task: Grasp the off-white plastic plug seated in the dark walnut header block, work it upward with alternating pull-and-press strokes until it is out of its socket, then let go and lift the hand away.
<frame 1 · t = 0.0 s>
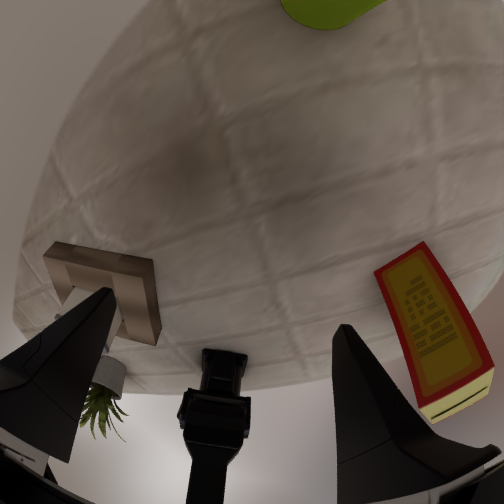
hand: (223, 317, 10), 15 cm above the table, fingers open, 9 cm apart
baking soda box: (410, 281, 28), on the table
house plant: (107, 359, 43), on the table
plug: (93, 312, 27), point 4 cm above the table, slide at 0.0 cm
soap dispenser: (319, 4, 13), on the table
header: (107, 287, 31), on the table
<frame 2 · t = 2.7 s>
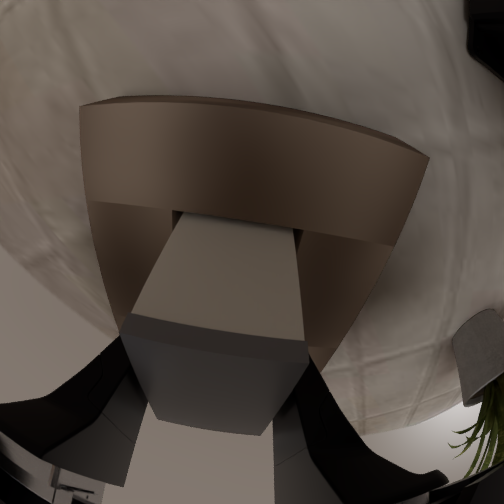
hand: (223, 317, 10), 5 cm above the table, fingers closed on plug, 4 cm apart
house plant: (462, 336, 18), on the table
plug: (224, 313, 10), point 4 cm above the table, slide at 0.0 cm, touching gripper
header: (236, 247, 14), on the table
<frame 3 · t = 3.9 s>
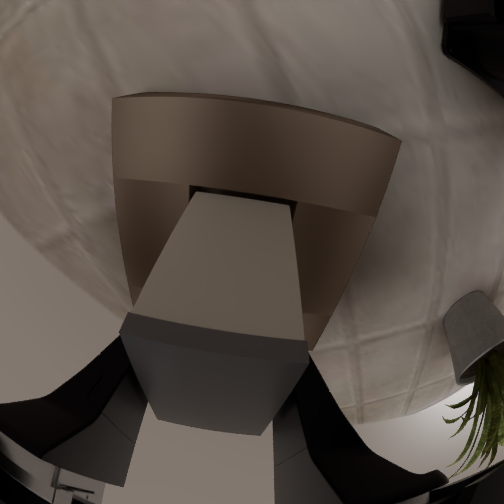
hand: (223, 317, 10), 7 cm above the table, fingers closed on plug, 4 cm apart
house plant: (453, 317, 20), on the table
plug: (224, 313, 10), point 7 cm above the table, slide at 2.3 cm, touching gripper
header: (240, 224, 15), on the table
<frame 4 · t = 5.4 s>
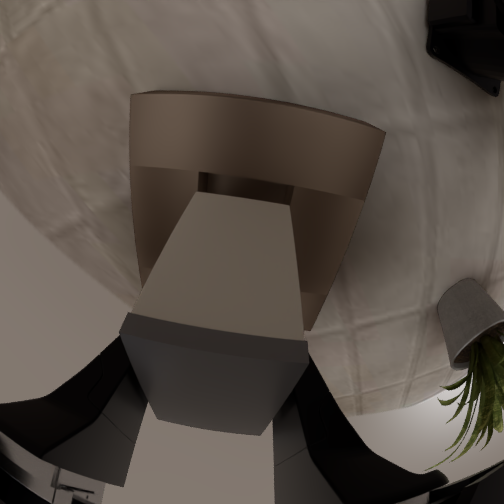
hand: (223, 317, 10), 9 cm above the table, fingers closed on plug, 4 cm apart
house plant: (447, 305, 21), on the table
plug: (224, 313, 10), point 8 cm above the table, slide at 4.1 cm, touching gripper
header: (243, 210, 17), on the table
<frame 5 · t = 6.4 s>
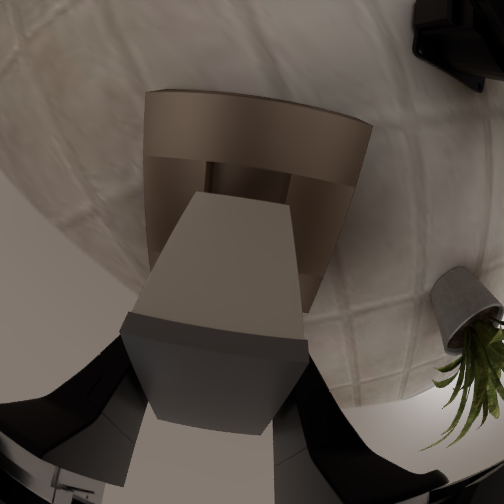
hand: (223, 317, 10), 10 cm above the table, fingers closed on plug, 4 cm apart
house plant: (440, 292, 23), on the table
plug: (224, 313, 10), point 10 cm above the table, slide at 5.8 cm, touching gripper
header: (245, 198, 18), on the table
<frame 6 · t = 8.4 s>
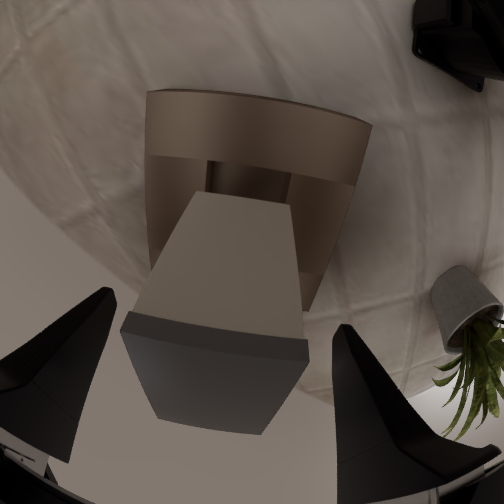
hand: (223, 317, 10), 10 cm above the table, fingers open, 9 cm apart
house plant: (440, 292, 23), on the table
plug: (224, 312, 10), point 10 cm above the table, slide at 5.9 cm
header: (245, 197, 18), on the table
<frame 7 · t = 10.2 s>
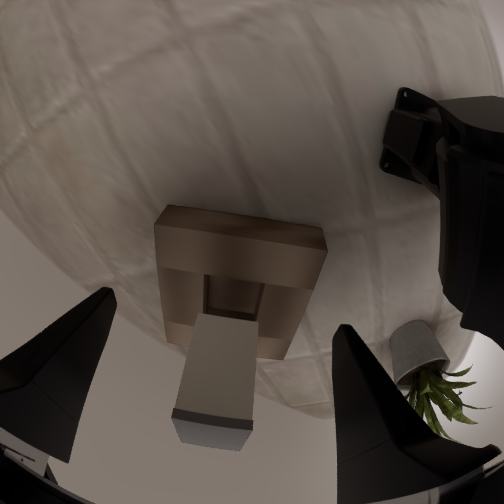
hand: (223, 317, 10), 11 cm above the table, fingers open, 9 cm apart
house plant: (399, 338, 29), on the table
plug: (218, 387, 16), point 10 cm above the table, slide at 5.9 cm
header: (234, 283, 24), on the table
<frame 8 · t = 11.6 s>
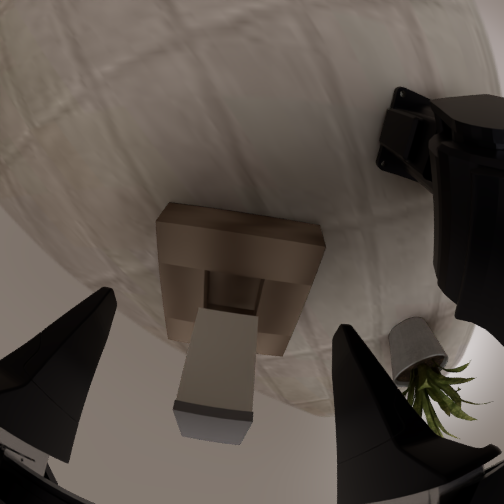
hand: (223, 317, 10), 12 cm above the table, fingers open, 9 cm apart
house plant: (398, 335, 29), on the table
plug: (218, 381, 16), point 10 cm above the table, slide at 5.9 cm
header: (234, 280, 25), on the table
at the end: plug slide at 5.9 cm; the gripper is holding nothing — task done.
